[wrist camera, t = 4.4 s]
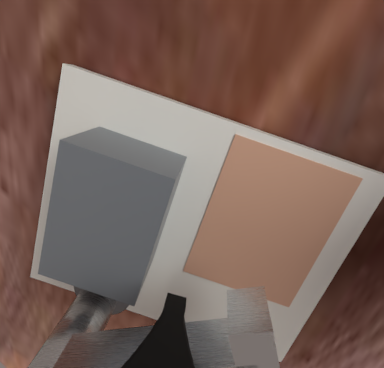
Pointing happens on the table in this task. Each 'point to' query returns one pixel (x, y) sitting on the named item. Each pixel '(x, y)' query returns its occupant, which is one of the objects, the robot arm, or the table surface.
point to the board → (226, 205)
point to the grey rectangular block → (107, 212)
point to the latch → (132, 337)
